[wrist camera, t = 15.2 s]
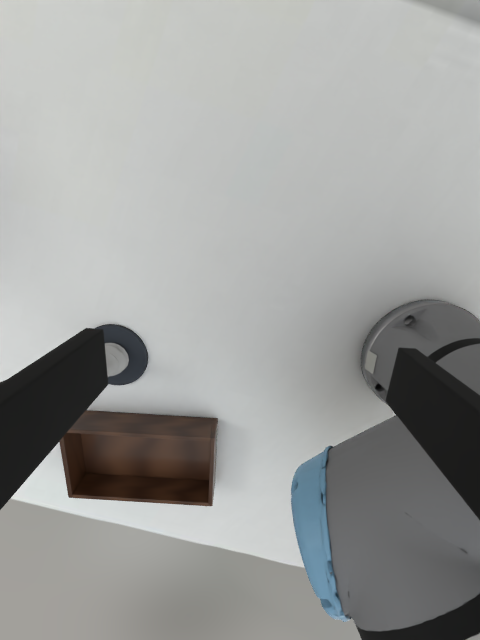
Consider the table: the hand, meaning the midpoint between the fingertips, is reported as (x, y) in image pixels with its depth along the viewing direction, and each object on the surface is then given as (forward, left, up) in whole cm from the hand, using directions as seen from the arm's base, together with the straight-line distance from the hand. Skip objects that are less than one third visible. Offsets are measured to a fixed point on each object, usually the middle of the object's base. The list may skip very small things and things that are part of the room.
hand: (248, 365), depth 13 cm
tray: (+9, +30, -25) cm, 39 cm away
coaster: (+15, +15, -25) cm, 33 cm away
